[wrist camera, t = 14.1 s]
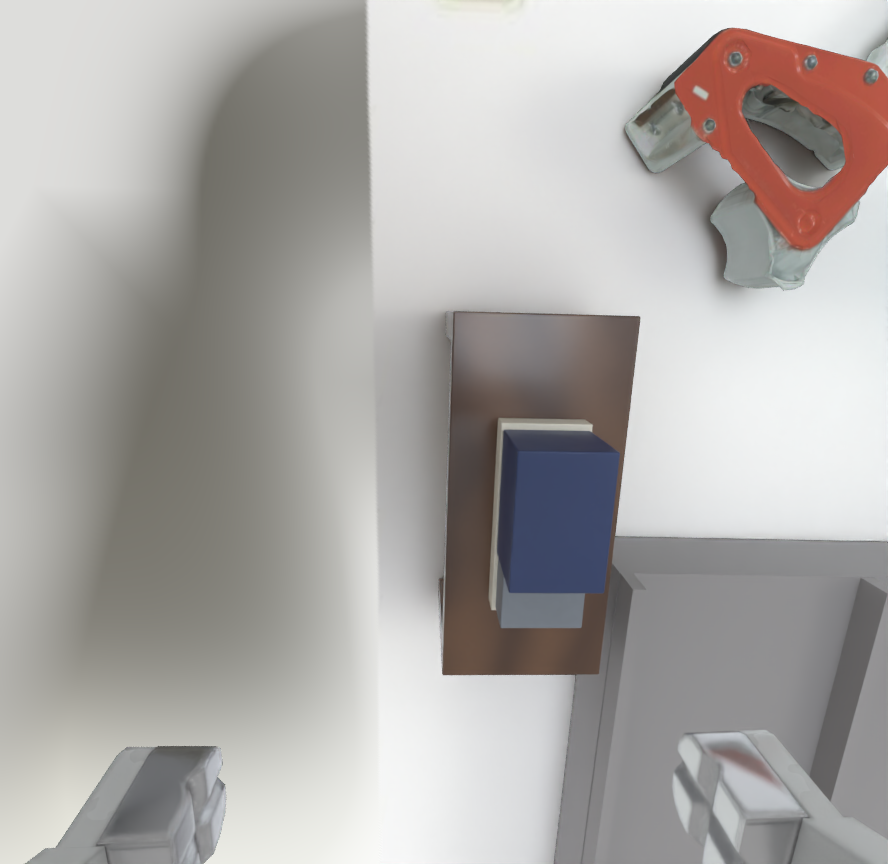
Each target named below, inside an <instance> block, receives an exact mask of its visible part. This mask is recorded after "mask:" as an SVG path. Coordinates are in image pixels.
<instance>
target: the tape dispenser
mask: <svg viewBox="0 0 888 864" xmlns="http://www.w3.org/2000/svg"><path fill="white" fill-rule="evenodd" d="M745 118H748V119H752V120H755V121H758V122H762V123H765V124H768V125H770V126H772V127H775V128H777V129H779V130H781V131H783V132H784V133H786V134H788V135H789V136H791V137H793V138H794V139H796V140H797V141H799V142H800V143H801V144H803V145H804V146H805V147H806V148H807V149H810V150H814V151H815V156H816V157H817V158H818V159H819V160H820V161H821V162H822V163H823V165H824V166H825V167H826V168H828V169H829V170H836V169H839V168H841V167H843V168H842V169H841V171H840V172H839V173H838V174H836V175H835V176H834V177H832V178H831V179H829V180H828V182H827V183H826V184H825V185H824V186H823V187H822V188H815V187H811V186H807V185H804V184H801V183H798V182H795V181H794V180H792V179H790V178H789V177H787V176H786V175H785V174H784V173H783V171H782V170H781V169H780V168H779V167H778V166H777V165H776V164H774V162H773V161H772V159H771V158H770V156H769V155H768V153H767V152H766V151H765V150H764V148H763V147H762V146H761V144H760V142H759V141H758V139H757V137H756V136H755V135H754V134H753V133H752V131H751V130H750V128H749V126H748V124H747V121H746V119H745ZM625 130H626V133H627V135H628V136H629V138H630V140H631V141H632V143H633V144H634V146H635V148H636V149H637V151H638V152H639V154H640V156H641V158H642V159H643V161H644V163H645V164H646V166H647V168H648V169H649V170H650V171H651V172H653V173H659V172H662V171H664V170H665V169H667V168H668V167H670V166H671V165H673V164H675V163H676V162H678V161H679V160H681V159H682V158H684V157H685V156H687V155H688V154H690V153H691V152H693V151H695V150H696V149H698V148H699V147H701V146H702V145H704V144H706V143H709V144H710V145H711V147H712V149H714V150H716V151H719V152H720V155H721V157H722V158H723V159H727V160H728V161H729V162H730V164H731V167H732V169H733V170H734V171H736V172H737V173H738V174H739V175H740V176H741V178H742V179H743V180H744V181H745V183H743V184H740V185H739V186H737V187H736V188H735V189H733V190H732V191H731V192H730V193H729V194H728V195H727V196H726V197H725V198H724V199H723V200H722V201H721V202H720V203H719V204H718V206H717V207H716V209H715V210H714V212H713V214H712V216H711V222H712V223H713V224H714V225H715V226H716V228H717V229H718V230H719V232H720V233H721V234H722V236H723V238H724V241H725V243H726V247H727V263H726V267H725V271H724V275H723V276H724V278H725V279H726V280H728V281H730V282H732V283H734V284H738V285H741V286H745V287H748V288H769V287H781V289H782V290H783V291H784V290H792V289H796V288H798V287H800V286H802V285H803V284H804V279H805V276H806V274H807V272H808V271H809V269H810V267H811V265H812V263H813V262H814V260H815V258H816V257H817V255H818V254H819V252H820V251H821V249H822V248H823V247H824V246H825V244H826V243H827V242H828V241H829V240H830V239H831V238H832V237H833V236H834V235H836V234H837V233H838V232H840V231H841V230H842V229H844V228H845V227H847V226H849V225H850V224H852V223H853V222H854V221H855V218H856V216H857V213H858V208H859V204H860V202H859V199H860V198H861V197H862V196H863V195H864V194H865V193H866V191H867V189H868V187H869V185H870V184H871V183H872V182H873V181H874V180H875V179H876V177H877V176H878V175H879V174H880V173H881V172H882V171H883V170H884V169H885V168H886V166H887V165H888V39H887V41H886V43H885V44H883V45H881V46H879V47H878V48H876V49H874V50H873V51H872V52H871V53H870V54H869V56H868V58H867V60H866V61H864V60H861V59H857V58H853V57H849V56H845V55H841V54H837V53H833V52H829V51H825V50H821V49H818V48H814V47H811V46H807V45H802V44H798V43H794V42H790V41H786V40H783V39H779V38H775V37H771V36H767V35H763V34H760V33H757V32H754V31H751V30H747V29H740V28H727V29H724V30H721V31H719V32H718V33H716V34H715V35H713V36H712V37H711V38H710V39H709V40H708V41H707V42H706V43H704V44H703V45H702V46H701V47H700V48H699V49H698V50H697V51H696V52H695V53H694V54H693V55H692V56H690V57H689V58H688V59H687V60H686V61H685V62H684V63H683V64H682V65H681V66H680V67H679V68H678V69H677V70H676V71H675V72H673V73H672V74H671V75H670V76H669V77H668V78H667V79H666V80H665V81H664V83H663V85H662V87H661V90H660V91H659V92H658V93H657V94H656V95H655V96H654V97H653V98H652V99H651V100H650V101H649V102H648V103H647V104H646V105H645V106H644V107H643V108H642V109H641V110H640V111H639V112H638V113H637V114H636V115H635V116H634V117H633V118H632V119H631V120H630V121H629V122H628V123H627V124H626V126H625Z"/></svg>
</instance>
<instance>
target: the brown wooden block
mask: <svg viewBox="0 0 888 864" xmlns="http://www.w3.org/2000/svg"><path fill="white" fill-rule="evenodd" d="M639 325H640V317H639V316H608V315H572V314H536V313H500V312H465V311H447V312H446V336H447V337H448V338H449V339H450V340H451V355H450V389H449V422H448V456H447V489H446V523H445V556H444V579H442V578H440V579H439V594H438V598H439V618H440V639H441V658H442V674H443V675H594V674H599V670H600V661H601V652H602V644H603V635H604V627H605V618H606V609H607V601H608V592H609V583H610V575H611V566H612V558H613V549H614V540H615V532H616V523H617V515H618V506H619V497H620V489H621V480H622V472H623V463H624V454H625V446H626V437H627V428H628V420H629V411H630V403H631V394H632V385H633V377H634V368H635V360H636V351H637V342H638V334H639ZM498 418H531V419H584V420H586V421H588V422H589V423H591V424H592V425H593V427H592V433H593V434H595V435H596V436H597V437H599V438H600V439H602V440H603V441H604V442H606V443H607V444H609V445H610V446H611V447H613V448H614V449H615V450H617V451H618V452H620V458H619V467H618V476H617V485H616V493H615V502H614V511H613V520H612V528H611V537H610V546H609V555H608V564H607V572H606V581H605V590H604V593H585V598H584V608H583V618H582V627H581V628H501V627H500V624H499V620H498V616H497V611H496V610H491V606H490V602H489V598H488V597H489V578H490V559H491V541H492V522H493V503H494V484H495V466H496V447H497V428H498Z"/></svg>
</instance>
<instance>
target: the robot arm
mask: <svg viewBox="0 0 888 864" xmlns="http://www.w3.org/2000/svg"><path fill="white" fill-rule="evenodd" d="M678 752H679V754H680V755H681V757H682V759H683V761H682V762H681V763H680V764H679V765H678V766H677V768H676V769H675V770H674V774H673V782H672V789H673V796H674V802H675V806H676V809H677V812H678V815H679V818H680V820H681V822H682V824H683V826H684V828H685V830H686V832H687V834H688V835H689V836H690V837H692V838H693V839H694V840H695V841H696V842H698V843H699V844H700V845H701V846H702V847H703V848H704V850H703V859H702V863H703V864H888V840H887V839H886V838H884V837H883V836H881V835H879V834H878V833H876V832H875V831H873V830H872V829H870V828H869V827H867V826H865V825H864V824H862V823H861V822H859V821H858V820H856V819H854V818H853V817H843V816H842V815H841V814H840V813H839V811H838V810H837V809H836V808H835V807H834V806H833V804H832V803H831V802H830V801H829V800H828V798H827V797H826V796H825V795H824V794H823V792H822V791H821V790H820V789H819V788H818V787H817V785H816V784H815V783H814V782H813V781H812V779H811V778H810V777H809V776H808V775H807V773H806V772H805V771H804V770H803V769H802V768H801V766H800V765H799V764H798V763H797V762H796V760H795V759H794V758H793V757H792V756H791V754H790V753H789V752H788V751H787V750H786V748H785V747H784V746H783V745H782V744H781V743H780V741H779V740H778V739H777V738H776V737H775V736H774V735H773V734H772V733H770V732H769V731H767V730H744V731H715V732H690V733H684V734H683V735H682V736H681V737H680V739H679V744H678ZM222 765H223V761H222V754H221V748H219V747H216V746H158V747H126V748H125V749H124V750H123V751H121V752H120V753H119V754H118V755H117V756H116V758H115V759H114V761H113V762H112V764H111V765H110V767H109V768H108V770H107V771H106V773H105V774H104V776H103V777H102V779H101V780H100V782H99V783H98V785H97V786H96V788H95V789H94V791H93V792H92V794H91V795H90V797H89V798H88V800H87V801H86V803H85V804H84V806H83V807H82V809H81V810H80V812H79V813H78V815H77V816H76V818H75V819H74V821H73V822H72V824H71V825H70V827H69V828H68V830H67V831H66V833H65V834H64V836H63V837H62V839H61V840H60V842H59V843H58V845H57V846H56V848H46V849H44V850H42V851H41V852H40V853H38V854H37V855H36V856H35V857H33V858H32V859H31V860H30V861H28V862H27V863H25V864H204V863H205V862H206V860H208V859H209V858H210V856H212V855H213V854H214V851H215V848H216V846H217V843H218V840H219V837H220V834H221V830H222V825H223V821H224V816H225V809H226V788H225V784H224V783H223V782H222V781H221V780H220V779H219V778H218V774H219V772H220V770H221V767H222Z"/></svg>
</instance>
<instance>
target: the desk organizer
mask: <svg viewBox="0 0 888 864" xmlns="http://www.w3.org/2000/svg"><path fill="white" fill-rule="evenodd" d="M744 730H767V731H769V732H770V733H772V734H773V735H774V736H775V737H776V738H777V739H778V740H779V741H780V743H781V744H782V745H783V746H784V747H785V748H786V750H787V751H788V752H789V753H790V754H791V756H792V757H793V758H794V759H795V760H796V762H797V763H798V764H799V765H800V766H801V768H802V769H803V770H804V771H805V772H806V773H807V775H808V776H809V777H810V778H811V779H812V781H813V782H814V783H815V784H816V785H817V787H818V788H819V789H820V790H821V791H822V792H823V794H824V795H825V796H826V797H827V798H828V800H829V801H830V802H831V803H832V804H833V806H834V807H835V808H836V809H837V810H838V811H839V813H840V814H841V815H842V816H843V817H853V818H854V819H856V820H858V821H859V822H861V823H862V824H864V825H865V826H867V827H869V828H870V829H872V830H873V831H875V832H876V833H878V834H879V835H881V836H883V837H884V838H886V839H887V840H888V542H870V541H818V540H766V539H714V538H661V537H615V540H614V549H613V558H612V566H611V575H610V583H609V592H608V601H607V609H606V618H605V627H604V635H603V644H602V652H601V661H600V670H599V674H594V675H576V680H575V689H574V697H573V706H572V714H571V723H570V732H569V740H568V749H567V757H566V766H565V774H564V783H563V791H562V800H561V809H560V817H559V826H558V834H557V843H556V851H555V860H554V864H703V863H702V859H703V850H704V848H703V847H702V846H701V845H700V844H699V843H698V842H696V841H695V840H694V839H693V838H692V837H690V836H689V835H688V834H687V832H686V830H685V828H684V826H683V824H682V822H681V820H680V818H679V815H678V812H677V809H676V806H675V802H674V796H673V789H672V782H673V774H674V770H675V769H676V768H677V766H678V765H679V764H680V763H681V762H682V761H683V759H682V757H681V755H680V754H679V752H678V744H679V739H680V737H681V736H682V735H683V734H684V733H690V732H715V731H744Z"/></svg>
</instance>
